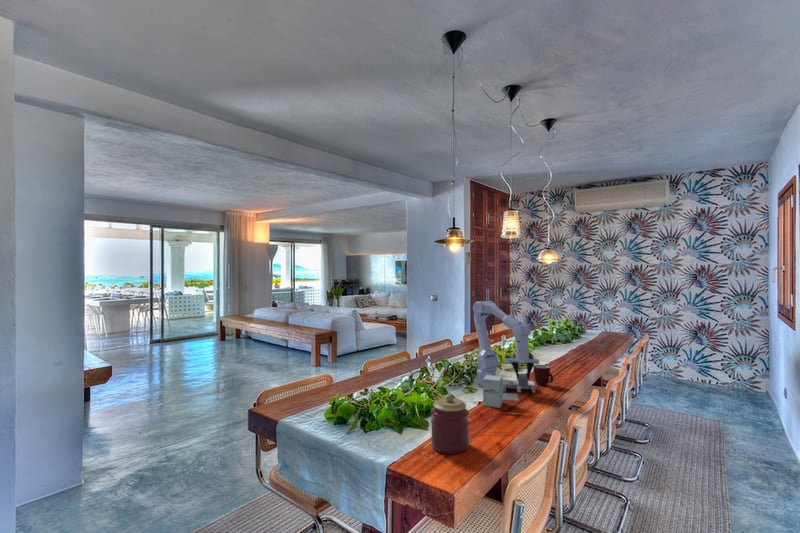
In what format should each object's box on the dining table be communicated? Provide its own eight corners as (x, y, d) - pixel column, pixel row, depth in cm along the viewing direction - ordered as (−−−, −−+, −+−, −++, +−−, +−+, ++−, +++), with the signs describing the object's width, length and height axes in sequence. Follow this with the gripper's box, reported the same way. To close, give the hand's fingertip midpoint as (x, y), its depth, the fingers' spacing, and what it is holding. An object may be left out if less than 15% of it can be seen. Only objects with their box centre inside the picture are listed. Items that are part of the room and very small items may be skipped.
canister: (424, 449, 130) (423, 396, 131) (442, 435, 141) (441, 386, 141) (459, 459, 123) (458, 403, 123) (475, 443, 134) (474, 392, 134)
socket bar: (503, 393, 189) (502, 383, 189) (502, 388, 195) (502, 379, 195) (535, 394, 185) (535, 384, 185) (533, 390, 192) (533, 380, 192)
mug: (557, 387, 197) (557, 367, 197) (549, 390, 192) (549, 370, 192) (539, 382, 205) (538, 363, 205) (530, 385, 200) (530, 366, 200)
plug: (518, 385, 178) (518, 378, 178) (517, 381, 185) (517, 373, 185) (528, 386, 177) (527, 378, 177) (526, 381, 184) (526, 374, 184)
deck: (500, 401, 177) (500, 399, 177) (500, 394, 187) (500, 392, 187) (519, 402, 175) (519, 400, 175) (517, 395, 185) (517, 393, 185)
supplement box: (482, 407, 169) (482, 378, 169) (487, 402, 176) (486, 374, 176) (499, 410, 166) (499, 380, 166) (503, 404, 172) (503, 376, 173)
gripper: (506, 350, 179) (507, 380, 179) (539, 352, 176) (540, 381, 176) (505, 348, 186) (506, 376, 186) (537, 348, 183) (538, 377, 183)
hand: (522, 378), depth 181 cm, fingers closed on plug, 4 cm apart
